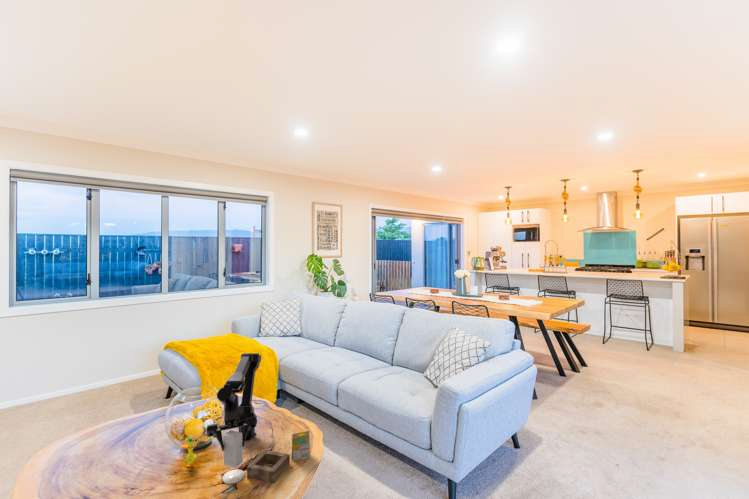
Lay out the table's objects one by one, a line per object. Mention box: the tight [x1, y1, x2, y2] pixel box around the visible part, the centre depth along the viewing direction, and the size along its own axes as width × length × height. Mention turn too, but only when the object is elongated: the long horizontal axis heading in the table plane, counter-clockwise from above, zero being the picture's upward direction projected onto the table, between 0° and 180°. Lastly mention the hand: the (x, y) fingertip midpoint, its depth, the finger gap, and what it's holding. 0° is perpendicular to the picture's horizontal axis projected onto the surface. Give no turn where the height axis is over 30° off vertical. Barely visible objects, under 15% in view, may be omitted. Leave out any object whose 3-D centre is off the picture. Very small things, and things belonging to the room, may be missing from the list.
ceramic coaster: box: [222, 468, 245, 485], centre depth 143 cm, size 8×8×1 cm
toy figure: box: [179, 436, 197, 468], centre depth 150 cm, size 7×4×12 cm, turn 92°
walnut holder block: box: [246, 449, 291, 484], centre depth 146 cm, size 12×12×4 cm
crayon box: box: [291, 430, 311, 462], centre depth 156 cm, size 7×3×12 cm, turn 111°
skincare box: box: [222, 429, 244, 469], centre depth 143 cm, size 6×4×12 cm
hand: (233, 448), depth 142 cm, fingers closed on skincare box, 7 cm apart
